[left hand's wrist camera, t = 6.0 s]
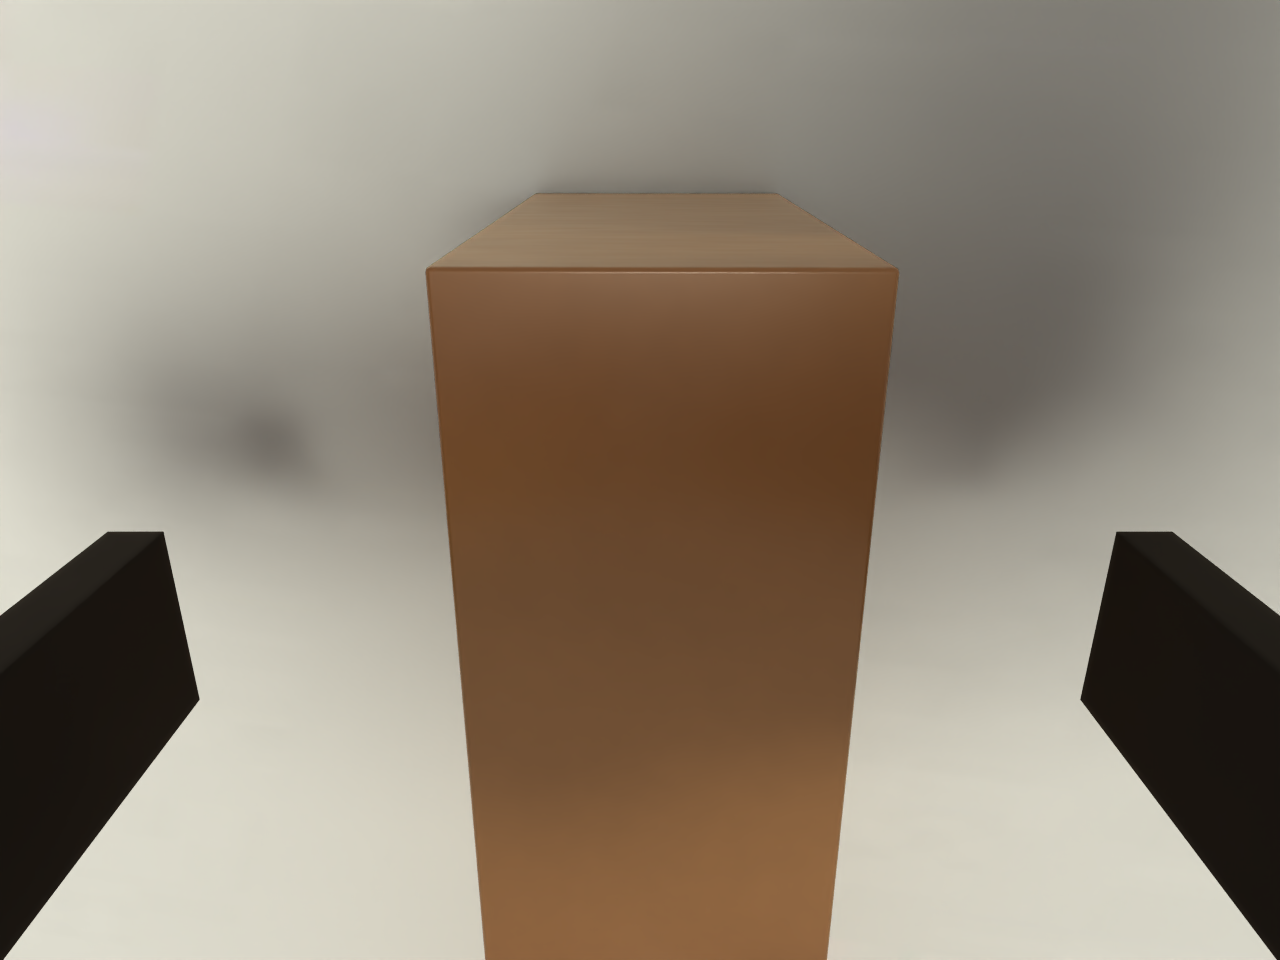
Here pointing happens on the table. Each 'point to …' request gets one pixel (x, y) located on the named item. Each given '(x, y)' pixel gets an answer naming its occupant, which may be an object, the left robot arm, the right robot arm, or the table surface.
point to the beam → (659, 564)
